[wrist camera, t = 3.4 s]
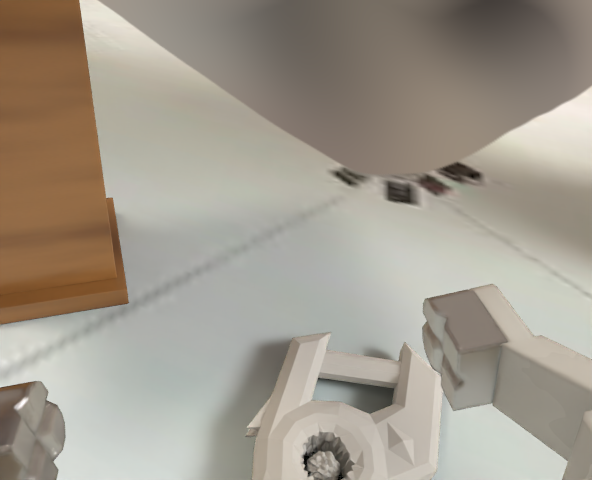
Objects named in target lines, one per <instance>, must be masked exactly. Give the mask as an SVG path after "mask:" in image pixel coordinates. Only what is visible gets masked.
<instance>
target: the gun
mask: <svg viewBox="0 0 592 480" xmlns="http://www.w3.org/2000/svg"><path fill="white" fill-rule="evenodd" d="M330 335H331V332H328V333H321V334H314V335H308V336H301V337H294V338H292V341H291V344H290V346H289V349H288V352H287V355H286V357H285V360H284V363H283V366H282V368H281V371H280V374H279V377H278V379H277V382H276V385H275V388H274V390H273V393H272V395H271V396H270V398H269V399H268V400H267V402H266V403H265V404H264V406H263V407H262V408H261V410H260V411H259V412H258V414H257V415H256V416H255V418H254V419H253V420H252V421H251V423H250V424H249V425H248V427H247V429H250V430H249V432H248V433H247V434H246V436H245V437H249V436H257V437H256V441H255V446H254V453H253V467H252V480H337V478H338V477H339V476H338V475H340V472H341V473H342V476H343V477H344V478H345V479H341V480H431V479H432V477H433V476H434V474H435V473H436V471H437V466H438V451H439V436H440V421H441V406H442V391H443V389H442V387H441V377H440V376H439V375H438V374H437V373H436V372H435V371H434V370H433V369H432V368H431V367H430V366H429V365H428V364H427V363H426V362H425V361H424V360H423V359H422V358H421V357H420V356H419V355H418V354H417V353H416V352H415V351H414V350H413V349H412V348H411V347H410V346H409V345H408V344H407V343H406V342H404V344H403V347H402V349H401V351H400V355H399V361H394V360H387V359H381V358H375V357H369V356H362V355H356V354H350V353H344V352H338V351H331V350H326V348H327V345H328V341H329V338H330ZM318 377H319V378H326V379H333V380H340V381H347V382H354V383H361V384H368V385H375V386H381V387H388V388H394V395H393V401H392V405H391V406H388V407H386V408H383V409H381V410H378V411H376V412H373V413H371V414H368V413H366V412H363V411H361V410H359V409H356V408H354V407H352V406H349V405H347V404H345V403H342V402H337V401H316V400H312V396H313V393H314V389H315V386H316V383H317V379H318ZM312 451H313V452H316V454H313V456H312ZM306 455H308V456H310V458H309V459H308V460H307V465H308V466H307V467H308V469H306V470H308V471H310V472H311V473H310V475H309V476H308V477H307V475H308V471H305V470H304V467H305V465H304V464H303V462H304V456H306ZM311 456H312V457H311ZM337 476H338V477H337Z"/></svg>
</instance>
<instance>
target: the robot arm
mask: <svg viewBox="0 0 592 480" xmlns="http://www.w3.org/2000/svg"><path fill="white" fill-rule="evenodd" d="M423 314H424V316H425V318H426V320H427V322H426V323H425V324H424V326H423V327H422V336H423V343H424V349H425V352H426V355H427V358H428V360H429V363H430V365H431V367H432V369H433V370H435V371H437V372H438V373H440V374H441V387H442V389H443V391H444V393H445V395H446V397H447V399H448V401H449V403H450V405H451V407H452V409H453V411H455V410H460V409H466V408H471V407H476V406H481V405H486V404H491V403H493V406H494V407H496V408H497V409H498V410H500V411H501V412H502V413H504V414H505V415H506V416H508V417H509V418H511V419H512V420H513V421H515V422H516V423H517V424H519V425H520V426H521V427H523V428H524V429H525V430H527V431H528V432H529V433H531V434H532V435H533V436H535V437H536V438H537V439H539V440H540V441H542V442H543V443H544V444H546V445H547V446H548V447H550V448H551V449H552V450H554V451H555V452H556V453H558V454H559V455H560V456H562V457H563V458H564V459H566V460H567V461H568V463H567V466H566V469H565V473H564V476H563V479H562V480H592V359H590V358H588V357H585V356H583V355H581V354H579V353H577V352H575V351H573V350H571V349H569V348H567V347H565V346H563V345H561V344H559V343H557V342H554V341H552V340H550V339H548V338H546V337H544V336H542V335H540V336H534V335H533V334H532V332H531V331H530V330H529V328H528V327H527V326H526V324H525V323H524V322H523V320H522V319H521V318H520V316H519V315H518V314H517V312H516V311H515V310H514V308H513V307H512V306H511V305H510V303H509V302H508V301H507V299H506V298H505V297H504V295H503V294H502V293H501V291H500V290H499V289H498V287H497V286H495V285H493V284H490V285H485V286H481V287H476V288H472V289H469V290H463V291H458V292H454V293H449V294H445V295H440V296H436V297H431V298H427V299H425V300H424V303H423ZM47 395H48V390H47V389H46V387H45V386H44V385H43V383H42V382H41V381H34V382H28V383H23V384H17V385H12V386H7V387H1V388H0V480H56V479H57V474H58V468H57V467H56V465H55V464H54V462H53V461H54V460H55V459H56V457H57V456H58V455H59V454H60V453H61V451H62V450H63V447H64V441H65V422H64V419H63V415H62V412H61V411H60V409H59V408H58V406H57V405H56V404H53V403H51V402H49V401H47V400H46V399H47Z"/></svg>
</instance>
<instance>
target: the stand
mask: <svg viewBox="0 0 592 480" xmlns="http://www.w3.org/2000/svg"><path fill="white" fill-rule="evenodd" d="M128 303H129V302H128V293H127V286H126V279H125V273H124V267H123V260H122V254H121V247H120V241H119V235H118V228H117V222H116V216H115V209H114V203H113V198H106V194H105V187H104V179H103V172H102V165H101V157H100V150H99V143H98V135H97V128H96V121H95V113H94V106H93V99H92V91H91V84H90V77H89V69H88V62H87V55H86V47H85V40H84V33H83V25H82V18H81V11H80V3H79V0H0V324H6V323H12V322H18V321H24V320H30V319H36V318H43V317H49V316H55V315H61V314H67V313H73V312H79V311H85V310H91V309H97V308H103V307H110V306H116V305H122V304H128Z"/></svg>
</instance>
